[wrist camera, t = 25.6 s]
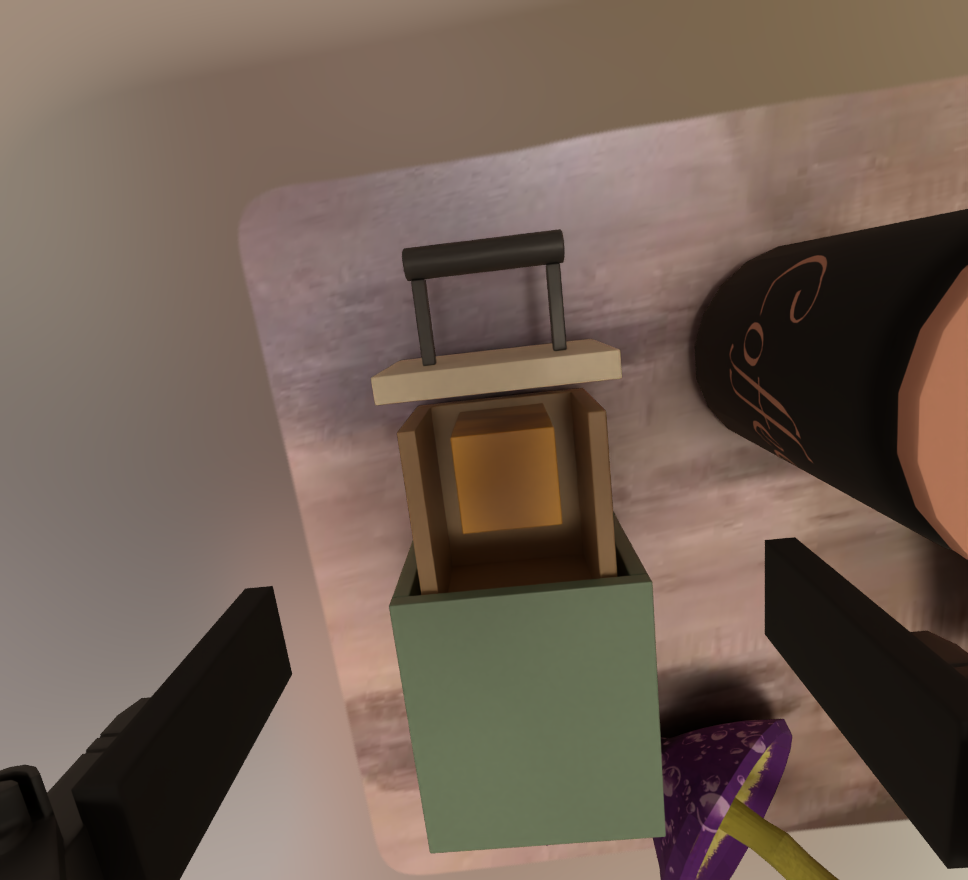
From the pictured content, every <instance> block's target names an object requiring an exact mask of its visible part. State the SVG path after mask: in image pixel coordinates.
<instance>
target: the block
mask: <svg viewBox="0 0 968 880" xmlns="http://www.w3.org/2000/svg"><path fill="white" fill-rule="evenodd" d="M450 441H451V449H452V456H453V464H454V472H455V479H456V487H457V495H458V502H459V510H460V518H461V525H462V533H463V534H469V533H479V532H489V531H500V530H510V529H520V528H531V527H541V526H551V525H561V524H562V523H563V521H562V509H561V498H560V486H559V475H558V464H557V452H556V441H555V430H554V426H553V424H552V422H551V419H550V417H549V415H548V413H547V410H546V408H545V406H544V404H543V403H540V404H530V405H521V406H512V407H503V408H493V409H484V410H475V411H465V412H460V413H459V415H458V418H457V421H456V424H455V427H454V429H453V432H452V435H451V438H450Z"/></svg>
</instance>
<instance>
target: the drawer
mask: <svg viewBox="0 0 968 880" xmlns="http://www.w3.org/2000/svg"><path fill="white" fill-rule="evenodd" d="M402 261H403V268H404V273H405V277H406V279H407V281H411V284H412V292H413V299H414V306H415V313H416V321H417V328H418V335H419V342H420V350H421V357H422V358H417V359H409V360H400V361H398V362H397V363H395V364H393V365H392V366H390V367H388V368H386V369H385V370H383V371H381V372H380V373H378V374H376V375H375V376H373V377H371V383H372V389H373V396H374V402H375V405H384V404H393V403H402V402H411V401H420V400H429V399H439V398H448V397H457V396H466V395H475V394H484V393H493V392H502V391H511V390H520V389H529V388H539V387H548V386H557V385H566V384H575V383H584V382H593V381H602V380H611V379H620V378H622V371H621V354H620V350H619V349H617V348H614V347H612V346H609V345H606V344H604V343H601V342H599V341H596V340H594V339H585V340H576V341H567V342H566V332H565V320H564V308H563V295H562V283H561V271H560V264H559V263H563V262H564V239H563V233H562V231H561V230H560V229H559V230H551V231H542V232H534V233H526V234H518V235H510V236H502V237H494V238H486V239H477V240H469V241H461V242H453V243H445V244H437V245H429V246H420V247H412V248H404V249H403V251H402ZM539 265H546V278H547V290H548V301H549V313H550V324H551V336H552V343H549V344H541V345H532V346H523V347H514V348H505V349H497V350H488V351H479V352H470V353H461V354H453V355H444V356H436V353H435V346H434V338H433V331H432V323H431V316H430V308H429V301H428V293H427V285H426V280H424V279H431V278H439V277H448V276H456V275H464V274H473V273H481V272H489V271H498V270H506V269H514V268H523V267H531V266H539ZM540 403H543V404H544V406H545V408H546V410H547V413H548V415H549V417H550V419H551V422H552V424H553V426H554V430H555V441H556V452H557V464H558V475H559V486H560V498H561V509H562V521H563V523H562V524H561V525H551V526H541V527H531V528H520V529H510V530H500V531H489V532H479V533H469V534H463V533H462V525H461V518H460V510H459V502H458V495H457V487H456V479H455V472H454V464H453V456H452V449H451V441H450V438H451V435H452V432H453V429H454V427H455V424H456V421H457V418H458V415H459V413H460V412H465V411H475V410H484V409H493V408H503V407H512V406H521V405H530V404H540ZM397 438H398V444H399V451H400V457H401V464H402V471H403V477H404V484H405V490H406V497H407V503H408V510H409V517H410V523H411V530H412V536H413V543H414V549H415V556H416V563H417V569H418V576H419V582H420V589H421V595H429V594H439V593H450V592H461V591H471V590H482V589H493V588H504V587H514V586H525V585H536V584H546V583H557V582H568V581H578V580H589V579H600V578H611V577H617V564H616V549H615V535H614V520H613V505H612V490H611V475H610V461H609V446H608V431H607V416H606V410H605V409H604V408H603V407H602V406H601V405H600V404H599V403H598V402H597V401H596V400H595V399H594V398H593V397H592V396H591V395H590V394H589V393H588V392H587V391H586V390H585V389H584V388H575V389H566V390H557V391H547V392H538V393H529V394H520V395H511V396H502V397H493V398H484V399H474V400H465V401H456V402H447V403H438V404H429V405H420V406H418V407H417V408H416V409H415V410H414V412H413V413H412V414H411V415H410V417H409V418H408V419H407V421H406V422H405V423H404V425H403V426H402V427H401V428H400V430H399V431H398V432H397Z"/></svg>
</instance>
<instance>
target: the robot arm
mask: <svg viewBox="0 0 968 880" xmlns="http://www.w3.org/2000/svg"><path fill="white" fill-rule="evenodd" d="M765 635H766V636H767V638H768V639H769V640H770V641H771V643H772V644H773V645H774V647H775V648H776V649H777V650H778V652H779V653H780V654H781V656H782V657H783V658H784V659H785V661H786V662H787V663H788V665H789V666H790V667H791V668H792V670H793V671H794V672H795V674H796V675H797V676H798V677H799V679H800V680H801V681H802V682H803V684H804V685H805V686H806V688H807V689H808V690H809V691H810V693H811V694H812V695H813V697H814V698H815V699H816V700H817V702H818V703H819V704H820V706H821V707H822V708H823V709H824V711H825V712H826V713H827V715H828V716H829V717H830V718H831V720H832V721H833V722H834V724H835V725H836V726H837V727H838V729H839V730H840V731H841V733H842V734H843V735H844V736H845V738H846V739H847V740H848V741H849V743H850V744H851V745H852V747H853V748H854V749H855V750H856V752H857V753H858V754H859V756H860V757H861V758H862V759H863V761H864V762H865V763H866V765H867V766H868V767H869V768H870V770H871V771H872V772H873V774H874V775H875V776H876V777H877V779H878V780H879V781H880V783H881V784H882V785H883V786H884V788H885V789H886V790H887V792H888V793H889V794H890V795H891V797H892V798H893V799H894V800H895V802H896V803H897V804H898V806H899V807H900V808H901V809H902V811H903V812H904V813H905V815H906V816H907V817H908V818H909V820H910V821H911V822H912V824H913V825H914V826H915V827H916V829H917V830H918V831H919V833H920V834H921V835H922V836H923V838H924V839H925V840H926V842H927V843H928V844H929V845H930V847H931V848H932V849H933V851H934V852H935V853H936V854H937V856H938V857H939V858H940V860H941V861H942V862H943V863H944V865H945V866H946V867H947V868H948V869H951V868H968V653H967V652H966V651H965V650H963V649H962V648H961V647H959V646H958V645H957V644H955V643H952V642H950V641H948V640H946V639H944V638H942V637H940V636H937V635H935V634H933V633H931V632H929V631H918V632H909V631H908V630H907V629H906V628H905V627H903V626H902V625H901V624H900V623H898V622H897V621H896V620H895V619H894V618H892V617H891V616H890V615H889V614H888V613H886V612H885V611H884V610H883V609H881V608H880V607H879V606H878V605H877V604H875V603H874V602H873V601H872V600H871V599H869V598H868V597H867V596H866V595H864V594H863V593H862V592H861V591H860V590H858V589H857V588H856V587H855V586H854V585H852V584H851V583H850V582H849V581H847V580H846V579H845V578H844V577H843V576H841V575H840V574H839V573H838V572H837V571H835V570H834V569H833V568H832V567H830V566H829V565H828V564H827V563H826V562H824V561H823V560H822V559H821V558H820V557H818V556H817V555H816V554H815V553H813V552H812V551H811V550H810V549H809V548H807V547H806V546H805V545H804V544H803V543H801V542H800V541H799V540H798V539H796V538H795V537H794V538H783V539H773V540H765ZM291 675H292V671H291V667H290V662H289V658H288V653H287V649H286V644H285V640H284V636H283V631H282V626H281V622H280V617H279V613H278V608H277V603H276V599H275V594H274V590H273V586H269V587H259V588H247V589H245V590H244V591H243V592H242V593H241V594H240V595H239V597H238V598H237V599H236V600H235V601H234V603H232V605H231V606H230V607H229V608H228V609H227V610H226V612H225V613H224V614H223V615H222V616H221V617H220V618H219V620H218V621H217V622H216V623H215V624H214V625H213V626H212V628H211V629H210V630H209V631H208V632H207V633H206V635H205V636H204V637H203V638H202V639H201V640H200V641H199V643H198V644H197V645H196V646H195V647H194V648H193V650H192V651H191V652H190V653H189V654H188V655H187V656H186V658H185V659H184V660H183V661H182V662H181V664H180V665H179V666H178V667H177V668H176V669H175V670H174V671H173V673H172V674H171V675H170V676H169V677H168V678H167V680H166V681H165V682H164V683H163V684H162V685H161V686H160V688H159V689H158V690H157V691H156V692H155V693H154V695H153V696H152V697H150V698H141V699H140V700H139V701H137V702H136V703H134V704H133V705H131V706H130V707H129V708H127V709H126V710H125V711H123V712H122V713H120V714H119V715H118V716H117V717H116V718H115V719H114V720H113V721H112V722H111V723H110V724H109V726H108V727H107V728H106V729H105V730H104V731H103V732H102V733H101V734H100V735H101V736H100V738H97V739H96V740H95V741H94V742H93V743H92V744H91V745H90V746H89V747H88V749H87V750H86V754H82V755H81V756H80V757H79V758H78V760H77V761H76V762H75V763H74V764H73V765H72V766H71V767H70V768H69V770H68V771H67V772H66V773H65V774H64V775H63V776H62V777H61V778H60V779H59V781H58V782H57V783H56V784H55V785H54V786H53V787H52V788H51V789H50V790H49V792H48V793H47V792H46V789H45V786H44V783H43V781H42V778H41V775H40V773H39V771H38V770H37V768H36V767H34V766H29V765H20V766H14V767H9V768H6V769H3V770H1V771H0V880H180V878H181V876H182V875H183V873H184V871H185V869H186V867H187V865H188V864H189V862H190V860H191V858H192V856H193V854H194V853H195V851H196V849H197V847H198V845H199V843H200V842H201V840H202V838H203V836H204V834H205V833H206V831H207V829H208V827H209V825H210V823H211V821H212V820H213V818H214V816H215V814H216V812H217V811H218V809H219V807H220V805H221V803H222V801H223V800H224V798H225V796H226V794H227V792H228V791H229V789H230V787H231V785H232V783H233V781H234V780H235V778H236V776H237V774H238V772H239V770H240V768H241V767H242V765H243V763H244V761H245V759H246V758H247V756H248V754H249V752H250V750H251V748H252V747H253V745H254V743H255V741H256V739H257V737H258V736H259V734H260V732H261V730H262V728H263V727H264V725H265V723H266V721H267V719H268V717H269V716H270V713H271V712H272V710H273V708H274V707H275V705H276V703H277V701H278V699H279V697H280V696H281V694H282V692H283V690H284V688H285V686H286V685H287V683H288V681H289V679H290V677H291Z"/></svg>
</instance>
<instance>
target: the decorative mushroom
mask: <svg viewBox="0 0 968 880" xmlns="http://www.w3.org/2000/svg"><path fill="white" fill-rule="evenodd" d="M791 742H792V734H791V732H790V730H789V728H788V726H787V724H786V722H785V720H784V719H769V720H749V721H739V722H733V723H727V724H721V725H715V726H711V727H706V728H702V729H698V730H695V731H691V732H687V733H684V734H681V735H678V736H675V737H672V738H661V756H662V774H663V793H664V812H665V831H666V836H665V837H653V841H654V845H655V850H656V854H657V858H658V862H659V867H660V877H661V880H729V879H730V878H731V876H732V875H733V873H734V872H735V870H736V868H737V866H738V865H739V863H740V861H741V859H742V858H743V856H744V854H745V852H746V851H747V849H748V847H749V848H751V849H752V850H754V851H755V852H756V853H757V854H758V855H759V856H761V857H762V858H763V859H765V861H767V862H768V863H769V864H770V865H771V866H772V867H774V868H775V869H776V870H777V871H778V872H779V873H780V874H781V875H782V876H783V877H784V878H785V879H786V880H838V879H837V878H836V877H835V876H834V875H832V874H831V873H830V872H829V871H828V870H827V869H825V868H824V867H823V866H822V865H821V864H819V863H818V862H817V861H816V860H815V859H813V857H811V856H810V855H809V854H808V853H807V852H806V851H805V850H804V849H803V848H802V847H801V846H800V845H799V844H798V843H797V842H796V841H795V840H794V839H793V838H792V837H791V836H790V835H789V834H788V833H786V832H785V831H783V830H781V829H780V828H778V827H776V826H774V825H773V824H771V823H769V822H768V821H766V820H765V819H763V818H764V816H765V814H766V812H767V810H768V807H769V805H770V803H771V801H772V799H773V796H774V794H775V792H776V789H777V787H778V784H779V782H780V779H781V777H782V774H783V772H784V769H785V766H786V763H787V759H788V756H789V753H790V749H791Z"/></svg>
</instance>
